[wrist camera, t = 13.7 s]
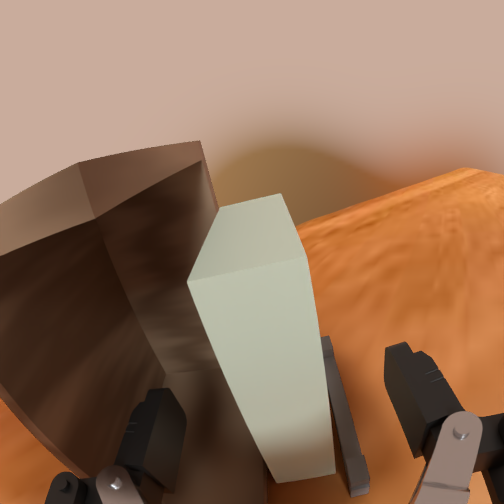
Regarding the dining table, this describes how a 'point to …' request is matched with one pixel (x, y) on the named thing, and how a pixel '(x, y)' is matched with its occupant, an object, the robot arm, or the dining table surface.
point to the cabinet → (128, 322)
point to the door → (267, 334)
